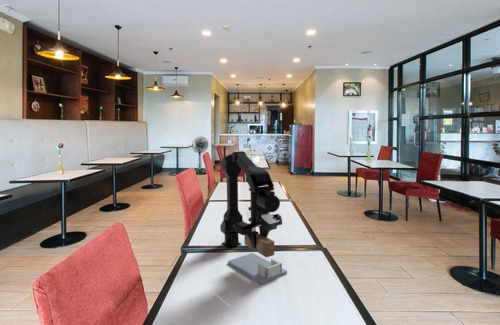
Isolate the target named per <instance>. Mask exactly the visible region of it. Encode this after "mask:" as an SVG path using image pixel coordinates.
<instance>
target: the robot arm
mask: <svg viewBox="0 0 500 325" xmlns="http://www.w3.org/2000/svg"><path fill="white" fill-rule="evenodd" d="M220 163H221V165H220V166H221V167H222V172H223V173H224V175H225V177H226V210H225V212H224V214H223V220H222V221H221V224H220V226H219V228H220V232H221V233H222V234H223V235H224V241H223V242H221V244H222V245H223V246H225V247H226V248H228V249H232V248H235V247H239V246H241V245H242V243H241V242H239V240H240V239H239V235H242V236H245V235H247V236H248V238H249V240H250V242H251V244H252V246H253V248H256V235H257V234H258V233H259V234H261V235H263V236H265V237H267V238H268V236H269V234H270V232H271V231H272V230H277V229H278V226H282V225H283V218H282V215H281V214H280V213H275V212H276V211H278V209H279V208H280V205H281V200H280V198H279V197H278V196H277V195H276V194H275V193H276V192H275V184H274V182H273V180H272V178H271V175H270V174H269V172H268V170H266V169H265V168H264V167H260V166H257V165H256V164H255V163H254V162H253V161H252V160H251V159H250V157H249V156H248V155H247V153H246V152H245V151H243V150H241V151H240V150H239V151H233V152H232V153H230V154H228V155H226V156H224V157H223V158H222V159H221V162H220ZM242 172H243V173H244V174H245V175H246V179H245V180H246V182H247V185H248V187H249V188H248V191H249V192H250V206H248V211H250V217H249V218H248V223H247V222H245V221H244V219H243V217H244V216H243V215H242V213H241V212H240V210H239V185H238V184H239V182H238V181H239V179H238V178H239V176H240V174H241V173H242ZM274 213H275V214H274ZM249 222H250V223H249ZM257 228H258V229H259V231H258V230H257Z"/></svg>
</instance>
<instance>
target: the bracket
mask: <svg viewBox="0 0 500 325" xmlns="http://www.w3.org/2000/svg"><path fill="white" fill-rule="evenodd" d="M227 264H228V265H230V266H232V268H234V269H236V270H238V271H239V272H241V273H243V274H244V275H245V276H247V277H249V278H251V279H252V280H254V281H255V282H257V283H258V284H260V285H263V284H266V283H268V282H270V281H273V280H275V279H278V278H279V277H282V276H285V275H287V274H288V270H286V269H285V268H283V263H282V262H281V261H278V260H276V259H274V258H271V259H270V261H269V260H267V259H265V258H263V257H261V256H260V255H257V254H256V253H254V252H251V253H248V254H245V255H241V256H238V257H236V258H233V259H230V260H228V261H227Z"/></svg>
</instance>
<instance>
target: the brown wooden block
mask: <svg viewBox="0 0 500 325" xmlns="http://www.w3.org/2000/svg"><path fill="white" fill-rule="evenodd" d="M244 245H246V246H247V247H248V248H250V249H252V250H253V251H255V252H256V253H258V254H260V255H261V256H263V257H264V258H269V257H273V256H275V240H272V239H270V238H269V237H268V236H267V237H265V236H263V235H261V234H260V232H258V234H257V235H256V248H253V246H252V244H251V242H250V240H249V238H248V236H247V235H244Z"/></svg>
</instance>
